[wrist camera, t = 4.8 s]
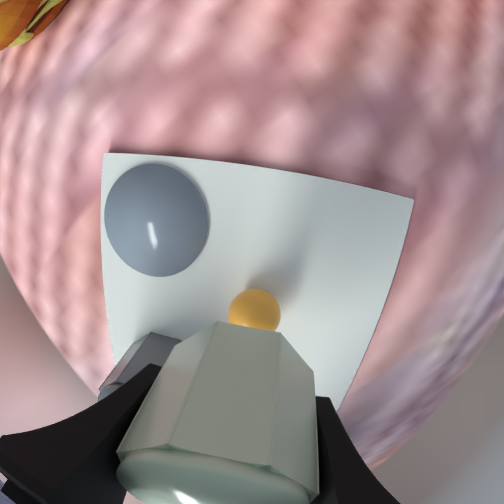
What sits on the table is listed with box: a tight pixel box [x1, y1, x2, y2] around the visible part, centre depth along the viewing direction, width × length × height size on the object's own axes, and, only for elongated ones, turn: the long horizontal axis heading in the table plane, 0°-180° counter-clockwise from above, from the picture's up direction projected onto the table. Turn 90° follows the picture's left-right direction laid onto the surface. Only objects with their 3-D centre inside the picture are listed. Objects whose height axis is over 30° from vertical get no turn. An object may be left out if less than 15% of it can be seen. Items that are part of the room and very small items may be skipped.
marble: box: [228, 289, 281, 332], centre depth 16 cm, size 3×3×3 cm
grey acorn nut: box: [98, 332, 182, 402], centre depth 18 cm, size 6×6×6 cm
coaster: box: [104, 164, 208, 277], centre depth 17 cm, size 7×7×1 cm
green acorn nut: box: [116, 321, 319, 504], centre depth 8 cm, size 6×6×6 cm
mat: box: [101, 153, 414, 412], centre depth 18 cm, size 18×19×1 cm
